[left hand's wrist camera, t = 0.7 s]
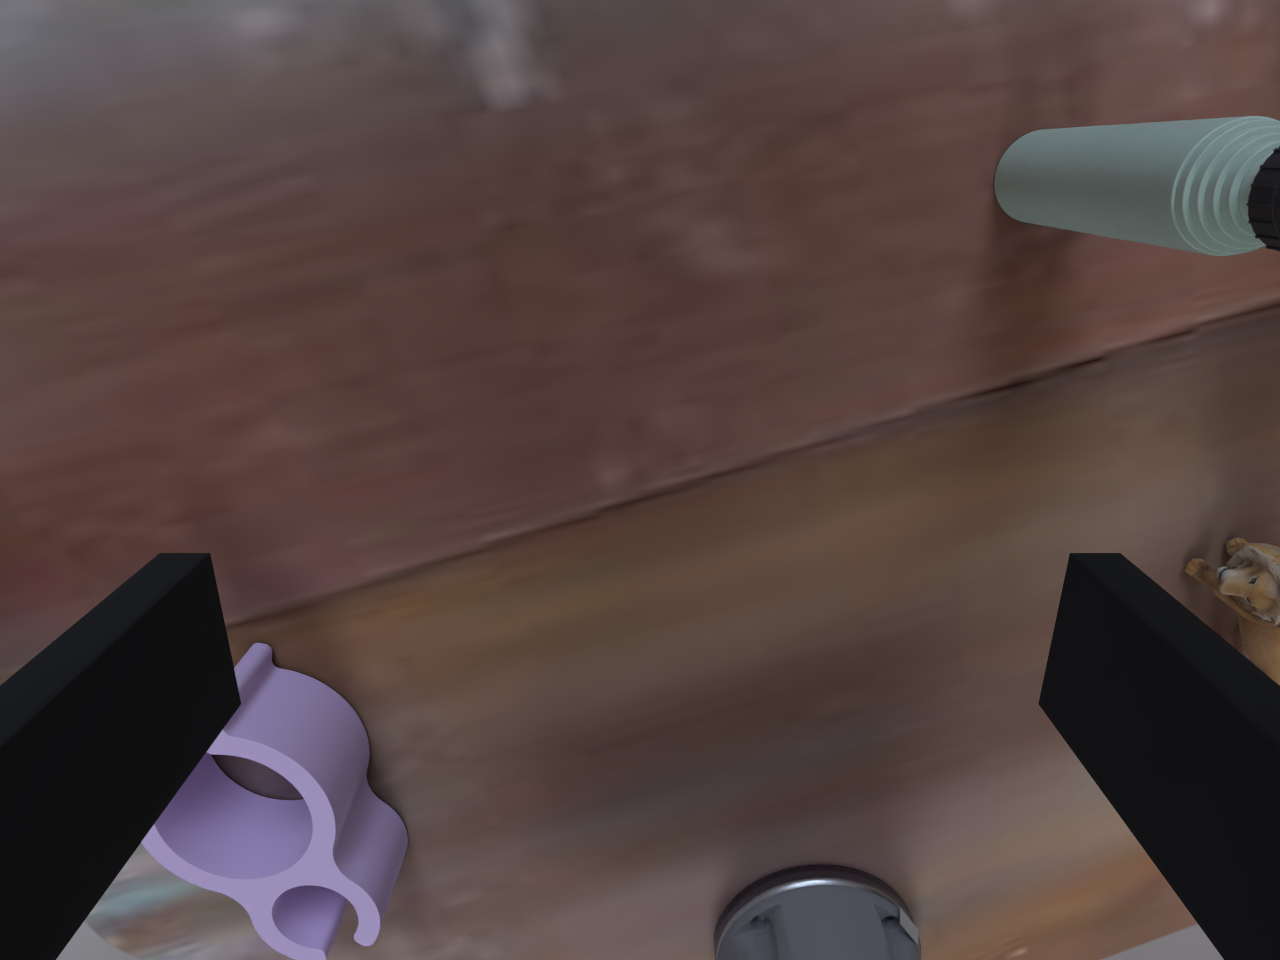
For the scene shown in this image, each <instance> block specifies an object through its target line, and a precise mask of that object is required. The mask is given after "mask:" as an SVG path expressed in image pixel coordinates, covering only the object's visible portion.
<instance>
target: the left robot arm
mask: <svg viewBox="0 0 1280 960" xmlns="http://www.w3.org/2000/svg"><path fill="white" fill-rule="evenodd" d="M240 705H241V700H240V695H239V690H238V685H237V680H236V676H235V671H234V666H233V661H232V656H231V652H230V647H229V642H228V637H227V632H226V628H225V623H224V618H223V613H222V608H221V604H220V599H219V594H218V589H217V584H216V580H215V575H214V570H213V565H212V560H211V556H210V553H160V554H158V555H157V556H156V557H155V558H154V559H152V560H151V561H150V562H149V563H147V564H146V565H145V566H144V567H143V568H141V569H140V570H139V571H138V572H137V573H135V574H134V575H133V576H132V577H131V578H129V579H128V580H127V581H126V582H125V583H123V584H122V585H121V586H120V587H119V588H117V589H116V590H115V591H114V592H113V593H111V594H110V595H109V596H108V597H107V598H105V599H104V600H103V601H102V602H100V603H99V604H98V605H97V606H96V607H94V608H93V609H92V610H91V611H90V612H88V613H87V614H86V615H85V616H84V617H82V618H81V619H80V620H79V621H78V622H76V623H75V624H74V625H73V626H72V627H70V628H69V629H68V630H67V631H66V632H64V633H63V634H62V635H61V636H60V637H58V638H57V639H56V640H55V641H54V642H52V643H51V644H50V645H49V646H47V647H46V648H45V649H44V650H43V651H41V652H40V653H39V654H38V655H37V656H35V657H34V658H33V659H32V660H31V661H29V662H28V663H27V664H26V665H25V666H23V667H22V668H21V669H20V670H19V671H17V672H16V673H15V674H14V675H13V676H11V677H10V678H9V679H8V680H7V681H5V682H4V683H3V684H2V685H1V686H0V960H56V959H57V957H58V956H59V954H60V953H61V952H62V950H63V949H64V948H65V946H66V945H67V943H68V942H69V941H70V939H71V938H72V937H73V935H74V934H75V932H76V931H77V930H78V928H79V927H80V926H81V924H82V923H83V921H84V920H85V919H86V917H87V916H88V915H89V913H90V912H91V910H92V909H93V908H94V906H95V905H96V904H97V902H98V901H99V899H100V898H101V897H102V895H103V894H104V893H105V891H106V890H107V888H108V887H109V886H110V884H111V883H112V882H113V880H114V879H115V877H116V876H117V875H118V873H119V872H120V870H121V869H122V868H123V866H124V865H125V864H126V862H127V861H128V859H129V858H130V857H131V855H132V854H133V853H134V851H135V850H136V848H137V847H138V846H139V844H140V843H141V842H142V840H143V839H144V837H145V836H146V835H147V833H148V832H149V831H150V829H151V828H152V826H153V825H154V824H155V822H156V821H157V820H158V818H159V817H160V815H161V814H162V813H163V811H164V810H165V808H166V807H167V806H168V804H169V803H170V802H171V800H172V799H173V797H174V796H175V795H176V793H177V792H178V791H179V789H180V788H181V786H182V785H183V784H184V782H185V781H186V780H187V778H188V777H189V775H190V774H191V773H192V771H193V770H194V769H195V767H196V766H197V764H198V763H199V762H200V760H201V759H202V758H203V756H204V755H205V753H206V752H207V751H208V749H209V748H210V746H211V745H212V744H213V742H214V741H215V740H216V738H217V737H218V735H219V734H220V733H221V731H222V730H223V729H224V727H225V726H226V724H227V723H228V722H229V720H230V719H231V718H232V716H233V715H234V713H235V712H236V711H237V709H238V708H239V707H240ZM1039 705H1040V707H1041V708H1042V709H1043V711H1044V712H1045V713H1046V715H1047V716H1048V718H1049V719H1050V720H1051V722H1052V723H1053V724H1054V726H1055V727H1056V729H1057V730H1058V731H1059V733H1060V734H1061V735H1062V737H1063V738H1064V740H1065V741H1066V742H1067V744H1068V745H1069V746H1070V748H1071V749H1072V751H1073V752H1074V753H1075V755H1076V756H1077V758H1078V759H1079V760H1080V762H1081V763H1082V764H1083V766H1084V767H1085V769H1086V770H1087V771H1088V773H1089V774H1090V775H1091V777H1092V778H1093V780H1094V781H1095V782H1096V784H1097V785H1098V786H1099V788H1100V789H1101V791H1102V792H1103V793H1104V795H1105V796H1106V797H1107V799H1108V800H1109V802H1110V803H1111V804H1112V806H1113V807H1114V808H1115V810H1116V811H1117V813H1118V814H1119V815H1120V817H1121V818H1122V820H1123V821H1124V822H1125V824H1126V825H1127V826H1128V828H1129V829H1130V831H1131V832H1132V833H1133V835H1134V836H1135V837H1136V839H1137V840H1138V842H1139V843H1140V844H1141V846H1142V847H1143V848H1144V850H1145V851H1146V853H1147V854H1148V855H1149V857H1150V858H1151V859H1152V861H1153V862H1154V864H1155V865H1156V866H1157V868H1158V869H1159V870H1160V872H1161V873H1162V875H1163V876H1164V877H1165V879H1166V880H1167V882H1168V883H1169V884H1170V886H1171V887H1172V888H1173V890H1174V891H1175V893H1176V894H1177V895H1178V897H1179V898H1180V899H1181V901H1182V902H1183V904H1184V905H1185V906H1186V908H1187V909H1188V910H1189V912H1190V913H1191V915H1192V916H1193V917H1194V919H1195V920H1196V921H1197V923H1198V924H1199V926H1200V927H1201V928H1202V930H1203V931H1204V932H1205V934H1206V935H1207V937H1208V938H1209V939H1210V941H1211V942H1212V944H1213V945H1214V946H1215V948H1216V949H1217V950H1218V952H1219V953H1220V955H1221V956H1222V957H1223V959H1224V960H1280V686H1279V685H1278V684H1277V683H1276V682H1275V681H1273V680H1272V679H1271V678H1270V677H1269V676H1267V675H1266V674H1265V673H1264V672H1263V671H1261V670H1260V669H1259V668H1258V667H1257V666H1255V665H1254V664H1253V663H1252V662H1251V661H1249V660H1248V659H1247V658H1246V657H1245V656H1243V655H1242V654H1241V653H1240V652H1239V651H1237V650H1236V649H1235V648H1234V647H1233V646H1231V645H1230V644H1229V643H1228V642H1226V641H1225V640H1224V639H1223V638H1222V637H1220V636H1219V635H1218V634H1217V633H1216V632H1214V631H1213V630H1212V629H1211V628H1210V627H1208V626H1207V625H1206V624H1205V623H1204V622H1202V621H1201V620H1200V619H1199V618H1198V617H1196V616H1195V615H1194V614H1193V613H1192V612H1190V611H1189V610H1188V609H1187V608H1186V607H1184V606H1183V605H1182V604H1181V603H1180V602H1178V601H1177V600H1176V599H1175V598H1173V597H1172V596H1171V595H1170V594H1169V593H1167V592H1166V591H1165V590H1164V589H1163V588H1161V587H1160V586H1159V585H1158V584H1157V583H1155V582H1154V581H1153V580H1152V579H1151V578H1149V577H1148V576H1147V575H1146V574H1145V573H1143V572H1142V571H1141V570H1140V569H1139V568H1137V567H1136V566H1135V565H1134V564H1133V563H1131V562H1130V561H1129V560H1128V559H1126V558H1125V557H1124V556H1123V555H1122V554H1120V553H1070V556H1069V560H1068V565H1067V570H1066V575H1065V580H1064V584H1063V589H1062V594H1061V599H1060V604H1059V608H1058V613H1057V618H1056V623H1055V628H1054V632H1053V637H1052V642H1051V647H1050V652H1049V656H1048V661H1047V666H1046V671H1045V676H1044V680H1043V685H1042V690H1041V695H1040V700H1039ZM714 950H715V960H921V946H920V940H919V937H918V929H917V927H916V926H915V925H914V922H913V919H912V917H911V914H910V911H909V909H908V907H907V905H906V904H905V902H904V901H903V899H902V898H901V897H900V895H899V894H898V893H897V892H896V891H895V890H894V889H893V888H892V887H890V886H889V885H888V884H886V883H885V882H883V881H882V880H880V879H878V878H877V877H875V876H873V875H870V874H868V873H866V872H863V871H860V870H857V869H853V868H849V867H844V866H837V865H806V866H799V867H793V868H789V869H785V870H781V871H779V872H776V873H773V874H770V875H768V876H766V877H763V878H762V879H760V880H758V881H756V882H754V883H753V884H751V885H750V886H748V887H747V888H745V889H744V890H743V891H741V892H740V893H739V894H738V895H737V896H736V897H735V898H734V899H733V900H732V901H731V902H730V903H729V905H728V906H727V907H726V909H725V910H724V912H723V913H722V915H721V917H720V919H719V922H718V924H717V927H716V931H715V937H714Z"/></svg>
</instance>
